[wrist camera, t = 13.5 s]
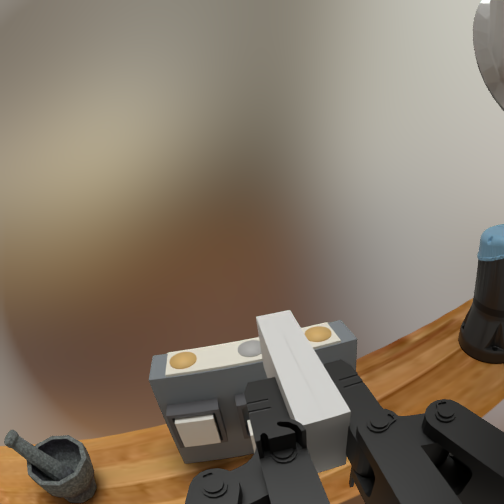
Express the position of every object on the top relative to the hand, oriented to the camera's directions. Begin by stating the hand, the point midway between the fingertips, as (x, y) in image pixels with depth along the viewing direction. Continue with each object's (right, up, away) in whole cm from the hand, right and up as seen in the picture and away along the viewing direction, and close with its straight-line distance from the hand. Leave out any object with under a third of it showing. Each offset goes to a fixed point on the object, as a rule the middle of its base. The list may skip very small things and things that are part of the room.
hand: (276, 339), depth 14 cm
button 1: (-7, -19, +20) cm, 28 cm away
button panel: (+1, -23, +26) cm, 35 cm away
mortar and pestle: (-26, -30, +17) cm, 43 cm away
